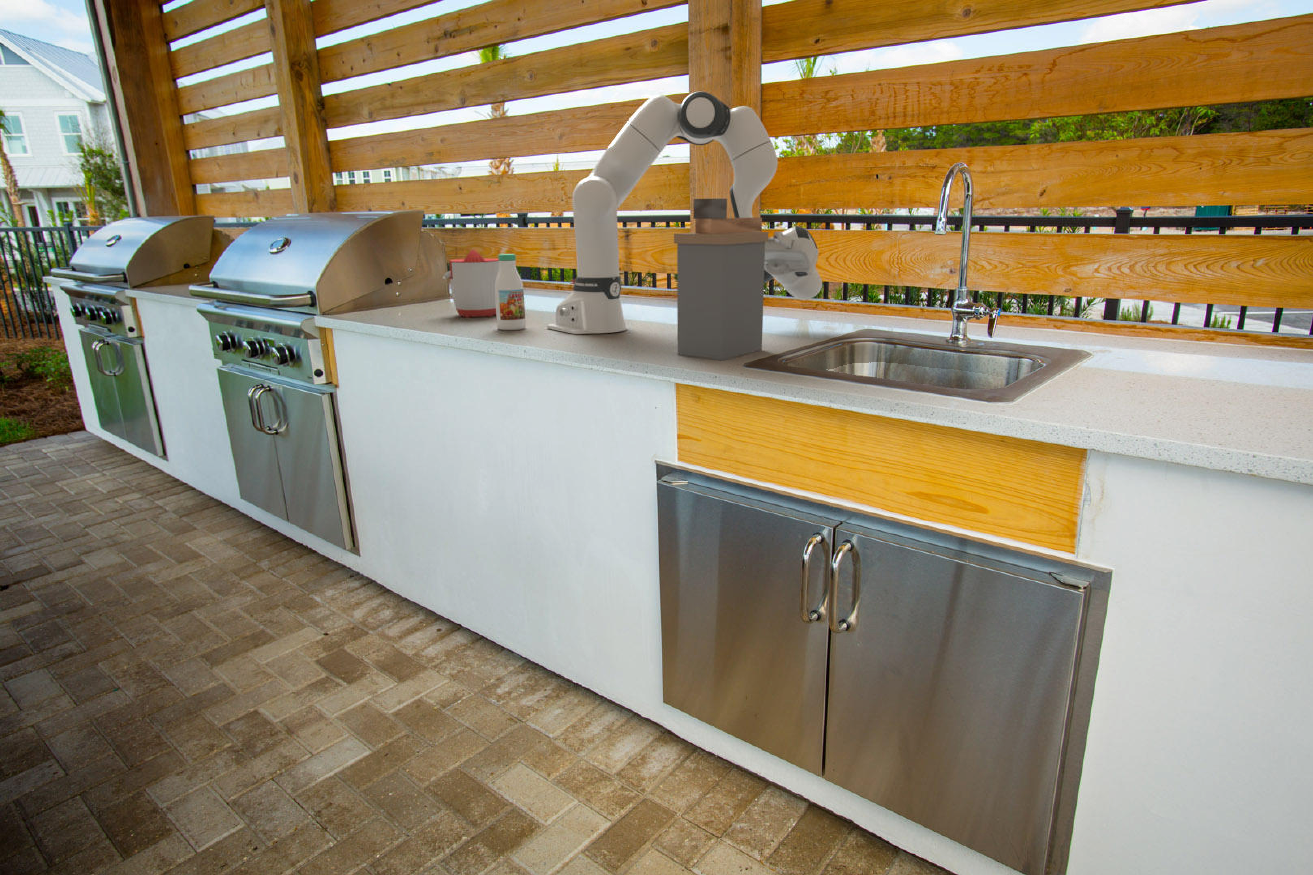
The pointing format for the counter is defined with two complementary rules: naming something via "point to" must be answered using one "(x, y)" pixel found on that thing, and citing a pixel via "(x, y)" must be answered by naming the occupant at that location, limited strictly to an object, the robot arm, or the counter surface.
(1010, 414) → the counter surface
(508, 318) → the milk bottle
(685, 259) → the cabinet
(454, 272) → the citrus juicer
